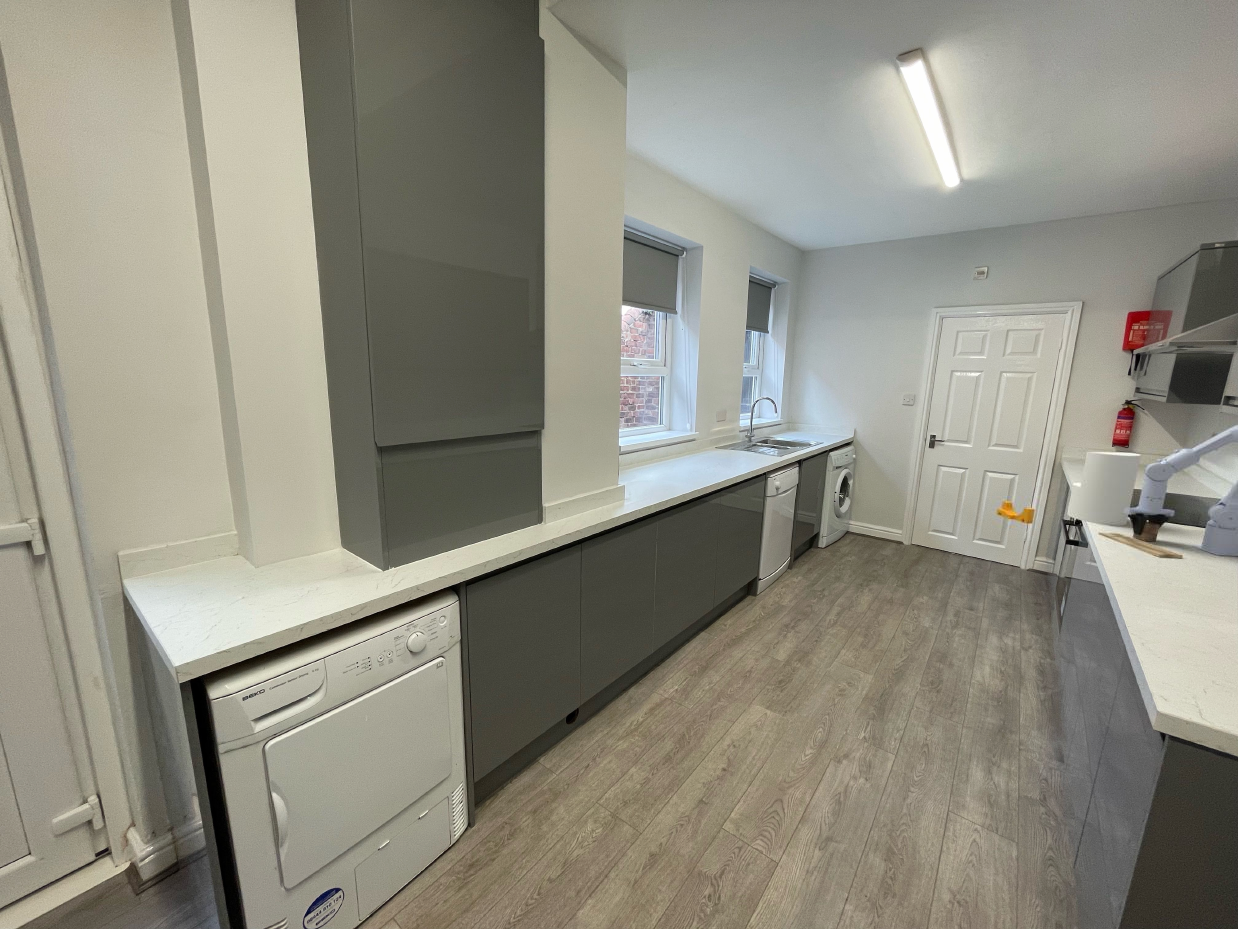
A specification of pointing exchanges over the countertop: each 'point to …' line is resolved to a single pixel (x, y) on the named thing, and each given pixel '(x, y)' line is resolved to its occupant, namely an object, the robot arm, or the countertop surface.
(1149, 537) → the block
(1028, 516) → the mounting bracket
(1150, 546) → the oak board
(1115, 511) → the cylinder
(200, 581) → the countertop surface
